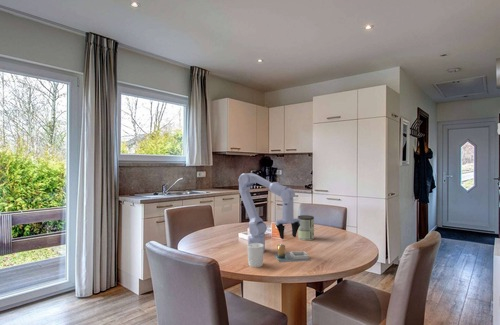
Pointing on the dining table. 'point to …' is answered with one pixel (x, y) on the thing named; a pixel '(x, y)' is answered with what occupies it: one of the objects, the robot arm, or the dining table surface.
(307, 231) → the coffee can
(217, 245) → the dining table surface
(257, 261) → the white cup
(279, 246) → the cell
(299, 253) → the gray board
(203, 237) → the dining table surface
